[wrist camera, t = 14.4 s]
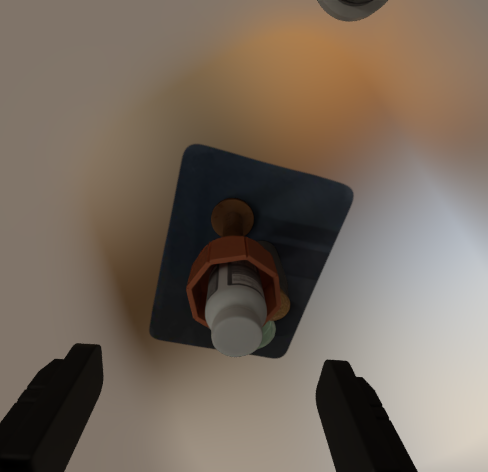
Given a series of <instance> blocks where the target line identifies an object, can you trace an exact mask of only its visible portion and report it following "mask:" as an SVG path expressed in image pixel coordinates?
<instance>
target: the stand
mask: <svg viewBox="0 0 488 472" xmlns="http://www.w3.org/2000/svg"><path fill="white" fill-rule="evenodd" d="M211 223H212V226H213V229H214V230H215V232H216V233H217V234H218V235H220V236H221V237H226V236H245V235H247V234H248V233H249V232H250V230H251V228H252V226H253V223H254V216H253V212H252V209H251V208H250V206H249V205H248V204H247V203H246V202H244V201H243V200H241V199H238V198H227V199H224V200H222V201H220V202H219V203H218V204H217V205H216V206H215V208H214V209H213V212H212V216H211Z"/></svg>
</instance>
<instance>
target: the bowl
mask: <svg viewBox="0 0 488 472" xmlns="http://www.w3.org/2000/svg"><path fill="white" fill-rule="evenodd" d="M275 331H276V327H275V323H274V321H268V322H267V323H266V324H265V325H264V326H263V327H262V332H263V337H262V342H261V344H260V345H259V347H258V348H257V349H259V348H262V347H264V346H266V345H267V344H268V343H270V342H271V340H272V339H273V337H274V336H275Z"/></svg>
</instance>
